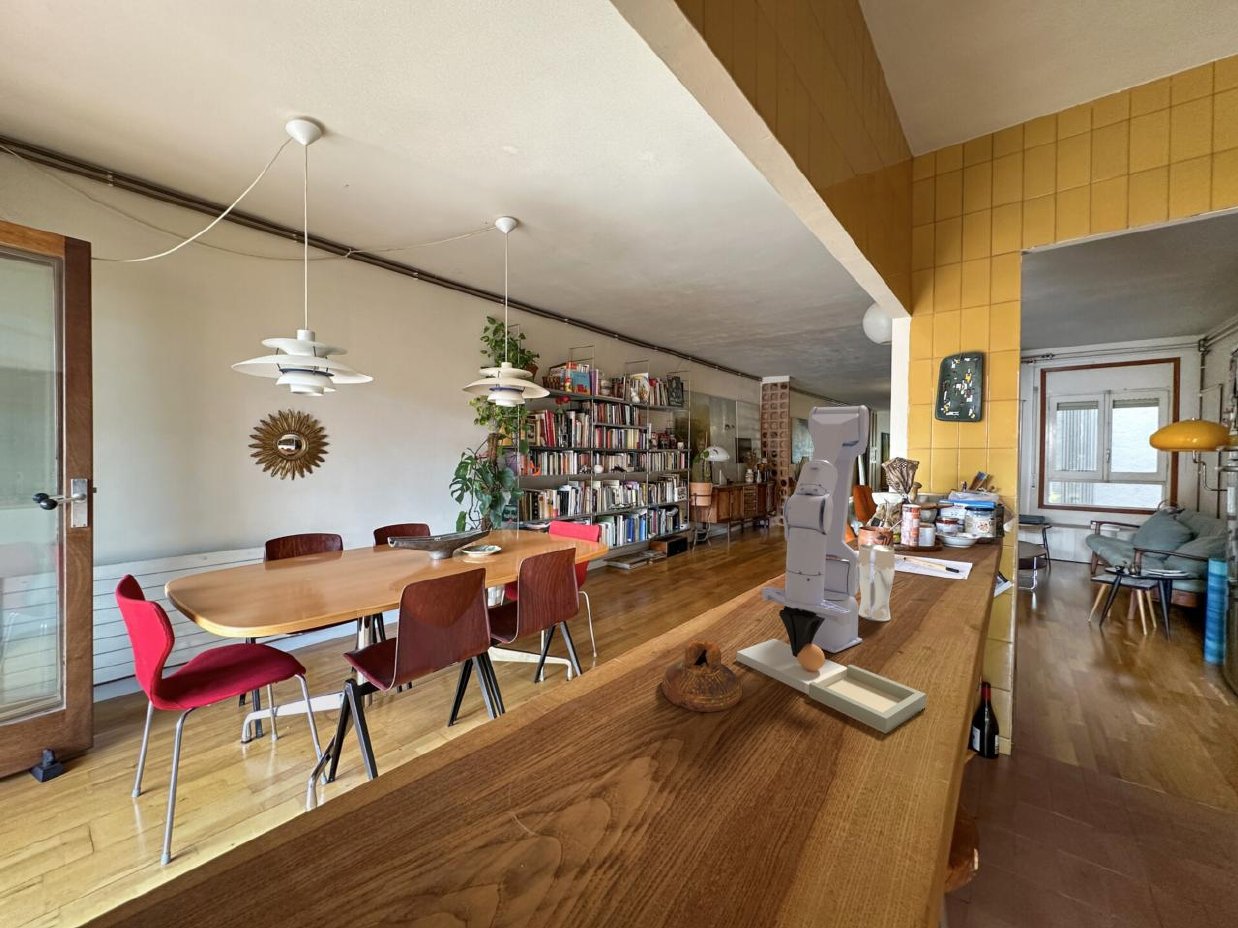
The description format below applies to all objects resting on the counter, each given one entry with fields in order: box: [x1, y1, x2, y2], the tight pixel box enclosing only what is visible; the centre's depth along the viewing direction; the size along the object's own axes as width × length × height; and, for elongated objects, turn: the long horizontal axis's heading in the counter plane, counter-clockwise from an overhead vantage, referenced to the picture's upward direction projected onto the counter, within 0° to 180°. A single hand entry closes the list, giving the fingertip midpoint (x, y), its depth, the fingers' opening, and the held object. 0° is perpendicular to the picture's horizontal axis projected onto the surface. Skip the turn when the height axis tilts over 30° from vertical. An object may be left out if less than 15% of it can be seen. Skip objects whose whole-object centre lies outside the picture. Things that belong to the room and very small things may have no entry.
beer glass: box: [858, 543, 896, 622], centre depth 105 cm, size 7×7×15 cm
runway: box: [736, 638, 847, 696], centre depth 80 cm, size 10×14×2 cm
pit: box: [808, 663, 927, 735], centre depth 70 cm, size 11×11×2 cm
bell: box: [661, 639, 743, 713], centre depth 73 cm, size 12×12×7 cm
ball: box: [797, 643, 826, 671], centre depth 77 cm, size 4×4×4 cm
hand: (801, 656), depth 78 cm, fingers closed, pressing on ball
